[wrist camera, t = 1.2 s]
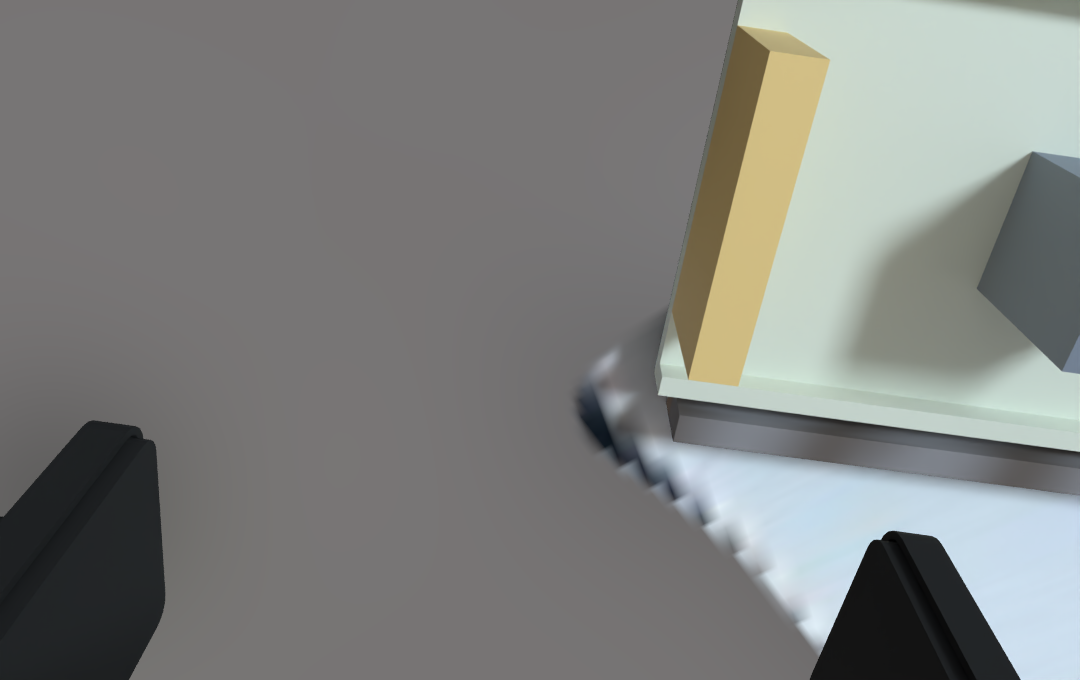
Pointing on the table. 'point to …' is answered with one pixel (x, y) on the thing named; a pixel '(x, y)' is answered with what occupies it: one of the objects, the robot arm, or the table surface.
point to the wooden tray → (874, 216)
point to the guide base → (874, 446)
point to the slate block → (1041, 259)
